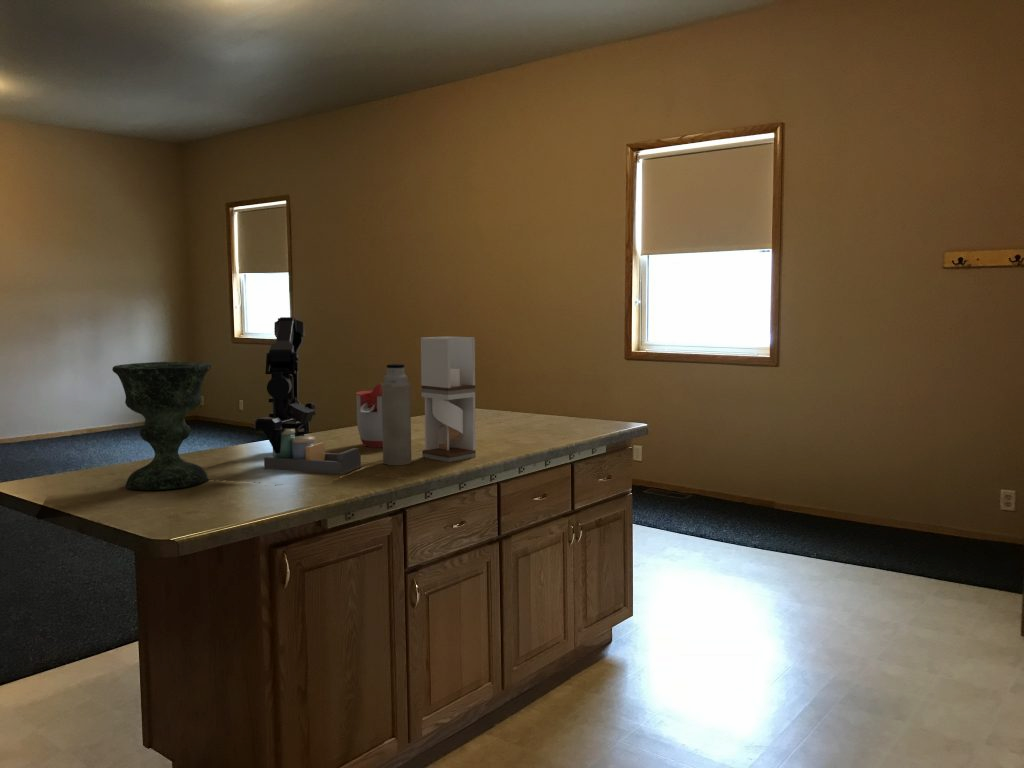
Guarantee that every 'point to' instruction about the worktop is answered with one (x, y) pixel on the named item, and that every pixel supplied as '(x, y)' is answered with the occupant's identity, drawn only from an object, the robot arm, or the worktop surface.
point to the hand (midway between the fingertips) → (284, 451)
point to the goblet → (164, 419)
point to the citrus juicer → (370, 416)
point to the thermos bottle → (396, 416)
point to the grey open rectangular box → (318, 463)
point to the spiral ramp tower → (449, 397)
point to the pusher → (316, 451)
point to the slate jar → (301, 446)
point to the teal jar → (285, 444)
